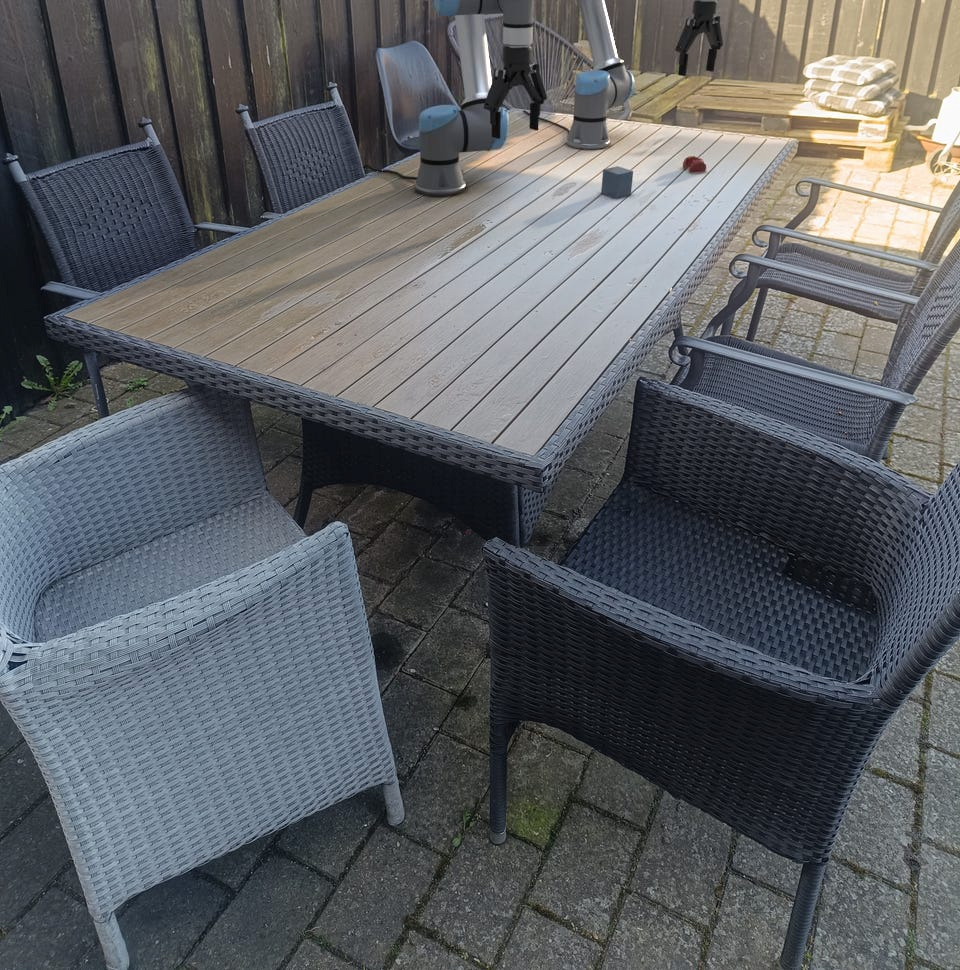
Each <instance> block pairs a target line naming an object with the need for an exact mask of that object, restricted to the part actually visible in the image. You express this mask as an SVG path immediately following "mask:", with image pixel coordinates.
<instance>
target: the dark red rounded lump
mask: <svg viewBox="0 0 960 970" xmlns="http://www.w3.org/2000/svg"><path fill="white" fill-rule="evenodd" d="M688 168H689V169H688ZM682 169H688V171H689V173H702V172H706V171H707V164H706V162H705V160H704V159H702V158H701V157H698V156H695V155H689V156H687V157H686V158H684V160H683V162H682Z"/></svg>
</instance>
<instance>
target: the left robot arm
mask: <svg viewBox="0 0 960 970" xmlns="http://www.w3.org/2000/svg"><path fill="white" fill-rule="evenodd" d="M424 1H426V2H427V1H428V2H429V1H430V2H433V4H434V5H433V6H434V9H435V12H436V14H437V15H439V16H441V17H443V16H446V17H454V20H455V28H456V36H457V37H456V38H457V44H458V53H459V60H460V68H461V77H462V86H463V93H464V100H463V102H462V103H461V104H460V110H459V107H458V106H457V105H455V104H439V105H435V106H430V107H428V108H425V109H424V110H423V111H421V113H420V114H419V117H418V118H419V119H418V132H419V133H418V134H419V135H418V136H419V157H420V158H419V159H420V161H419V162H420V164H419V168H418V172H417V176H409V175H404V174H402V173H400V172H398V171H396V170H390V169H382V168H376V167H373V165H371V164H369V163H365V164H364V165H363V166H362V169H366V168H369V169H370V170H371V171H374V172H377V173H384V174H385V173H386V174H392V175H395V176H398V177H399V178H401V179H405V180H411V181H415V183H414V184H415V185H414V186H415V192H417V193H418V194H420V195H424V196H430V197H450V196H455V195H459V194H461V193H463V192H464V191H466V181H465V179H464V176H463V174H464V169H461V165H460V153H473V152H474V153H475V152H484V151H485V152H486V151H487V152H490V151H494V150H500V149H502V148H503V147H504V145H505V143H506V141H507V137H508V133H509V122H510V121H509V113H508V109H507V108H506V107H504V106H502V105H503V103H504V101H505V99H506V97H507V96H508V94H509V92H510V90H512V89H513V87H518V86H523V87H524V89H525V91H526V92H527V94H528V97H530V99H531V101H532V102H530V104H529V113H530V115H529V130H532V131H539V122H540V121H539V120H540V119H539V117H541V107H542V106H541V105H544V103H545V101H546V100H547V99H548V96H547V95H548V94H547V92H546V89H545V86H544V83H543V79H542V76H541V73H540V72H541V69H540V64H539V63H535V62H532V60H533V47H532V44H533V39H534V38H533V36H534V10H535V7H534V6H535V0H424ZM501 14H502V43H503V46H502V59H501V60H502V62H503V68H502V69H500V68H495V67H494V69H493V76H492V70H491V62H490V53H489V45H488V44H489V43H488V37H487V29H486V20H485V15H501ZM529 75H530V76H529ZM382 170H383V171H382Z"/></svg>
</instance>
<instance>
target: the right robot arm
mask: <svg viewBox="0 0 960 970" xmlns="http://www.w3.org/2000/svg"><path fill="white" fill-rule="evenodd" d="M577 3H578V7H579V10H580V14H581V19H582V22H583V26H584V30H585V34H586V38H587V42H588V46H589V50H590V54H591V57H592V62H593V69H592V70H586V71H583V72H580V73H579V74H578V75H577V76H576V78H575V79H576V80H575V85H574V100H573V101H574V102H573V119H572V124H571V127H570V128H567V127H565V126H564V125H561V124H560V123H557V122H554V121H551V120H549V119H545V118H542V117H541V116H539V120H541V121H543V122H546V123H549V124H552V125H555V126H557V127H559V128H561V129H563V130H565V131H567V132H568V134H567V137H566V145H567V146H569V147H571V148H574V149H579V150H601V149H605V148H607V147H609V146H610V143H611V142H610V141H611V139H610V134H609V129H608V125H607V117H608V116H607V115H608V110H609V109H612V108H617V107H620V106H623V105H624V104H625V103H627V102H629V101H630V100H631V98H632V96H633V94H634V92H635V88H636V87H635V86H636V82H635V81H636V80H635V77H634V75H633V74H632V72H631V71H629V70H628V69H627V68H626V66H625V61H624V60H623V59H621V58H620V57H619V56H618V52H617V47H616V44H615V40H614V39H615V38H614V35H613V31H612V27H611V23H610V19H609V14H608V11H607V6H606V2H605V0H577ZM692 3H693V4H692V9H691V10H692V12H691V13H692V14H693V18H689V17H687V18H686V20H685V22H684V23H685V24H684V27H683V30H682V32H681V35H680V37H679V39H678V41H677V44H676V46H675V52H677V53H678V54H679V57H678V71H677V72H678V73H677V76H682V77H686V76H687V68H688V61H689V53H688V52H689V50H690V48H691V47H692V45H693V44H694V42H695V41H696V39H697V37H698V36H699V35H701V34H705V37H706V38H707V41H708V44H709V47H710V48H708V53H707V59H706V67H705V71H707V72H711V73H712V72H713V73H714V70H715V65H716V61H717V55H718V51H719V50H721V48H722V47H723V46H724V42H723V35H722V34H723V33H722V28H721V16H720V15H716V14H717V9H718V3H719V2H718V1H717V0H694V1H693V2H692ZM522 112H523V113H525V114H526V115H528V116H530V112H529V111H527V110H525V109H522Z"/></svg>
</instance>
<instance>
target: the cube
mask: <svg viewBox="0 0 960 970" xmlns="http://www.w3.org/2000/svg"><path fill="white" fill-rule="evenodd" d="M633 179H634V171H633V170H631V169H628V168H625V167H622V166H619V165H618V166H613V167H608V168H604V169H602V179H601V190H600V194H602V195H605V196H607V197H611V198H613V199H621V198H625V197H628V196H632V188H633V187H632V186H633Z"/></svg>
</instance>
